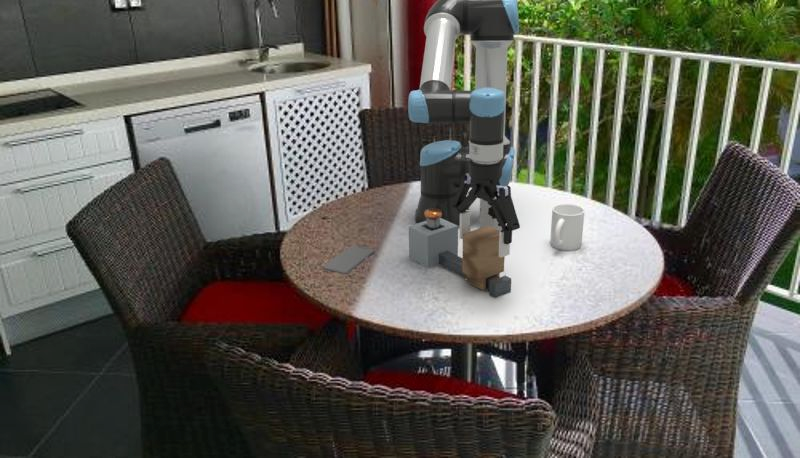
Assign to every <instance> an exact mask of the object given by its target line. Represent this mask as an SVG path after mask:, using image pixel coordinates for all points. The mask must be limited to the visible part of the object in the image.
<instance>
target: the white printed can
mask: <svg viewBox="0 0 800 458" xmlns="http://www.w3.org/2000/svg"><path fill="white" fill-rule="evenodd" d="M494 199H497V198H496V197H495V198H494ZM494 199H493V200H494ZM485 226H490V227H492V228H495V229H497V230H499V231H500V230H502V227H501V225H500V223H499V221H498V219H497V217H496V215H495V213H494V211H493V209H492V207H491V205H489V204H488V202H487V201H484V200H483V199H479V227H478V229H479V228H482V227H485Z"/></svg>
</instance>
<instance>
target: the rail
mask: <svg viewBox="0 0 800 458" xmlns="http://www.w3.org/2000/svg"><path fill="white" fill-rule="evenodd" d="M438 265H439V266H440V267H443V268H445V269H446V270H448V271H450V272H452V273H453V274H456V275H457V276H460V277H461V278H463V279H465V280H467V274H465V273H463V272H462V257H461V256H459V255H458V256H457V255H455V254H453V253H451V252H449V251H445V252H443V253H440V254H439V264H438ZM484 291H487V292H488V293H489V296H491V297H493V298H495V299H496V298H499V297H501V296H503V295H505V294H508V293H511V292H512V278H511V277H509V276H507V275H506V274H505V275H503V276H500V277H498V276H496V275H493V276H491V277H488V278H486V289H485V290H484Z"/></svg>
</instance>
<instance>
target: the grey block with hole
mask: <svg viewBox="0 0 800 458" xmlns="http://www.w3.org/2000/svg"><path fill="white" fill-rule="evenodd" d="M407 228H408V253H409V254H408V258H409V259H410V260H413V261H414V262H416V263H418V264H420V265H421V266H424V267H425V268H427V269H430V268H432V267H435V266H438V265H439V254H440V253H443V252H445V251H449V252H451V253H453V254H455V255H457V256H459V226H457V225H455V224H453V223H451V222H448V221H446V220H444V219H442V218H440V228H439V229H436V230H433V231H431V230H429V229H427V221H424V222H421V223H415V224H412V225H408V227H407Z"/></svg>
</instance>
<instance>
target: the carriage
mask: <svg viewBox="0 0 800 458" xmlns="http://www.w3.org/2000/svg"><path fill="white" fill-rule="evenodd" d="M461 252H462V257H461V258H462V272H463V273H465V274H467V279H465V280H466V281H465V282H467V283H469V284H471V285H473V286H475V287H477V288H479V289H480V290H482V291H486V290H485V289H486V278H488V277H491V276H493V275H496V276H498V277H501V276H500V274H502V273H503V272H505V257H506V256H504V257H499V230H497V229H495V228H492V227H490V226H485V227H482V228H479V227H478V228H476V229H474V230H470V232H467V233H464V234H463V239H462V251H461Z"/></svg>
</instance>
